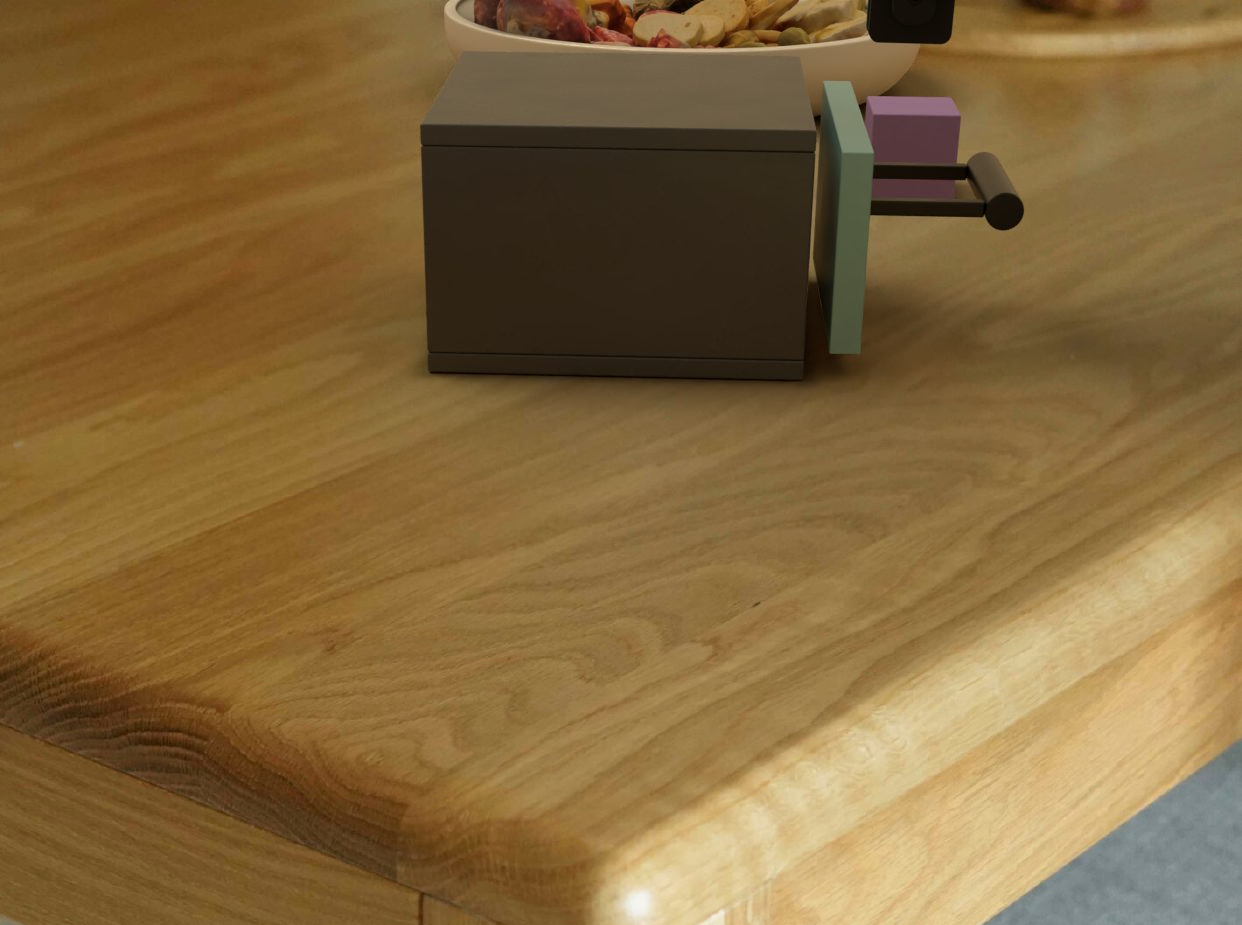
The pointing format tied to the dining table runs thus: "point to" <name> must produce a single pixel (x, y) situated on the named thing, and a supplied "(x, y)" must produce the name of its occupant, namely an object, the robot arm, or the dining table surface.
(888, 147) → the block
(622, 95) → the cabinet
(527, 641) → the dining table surface
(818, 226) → the drawer
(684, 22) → the bowl
